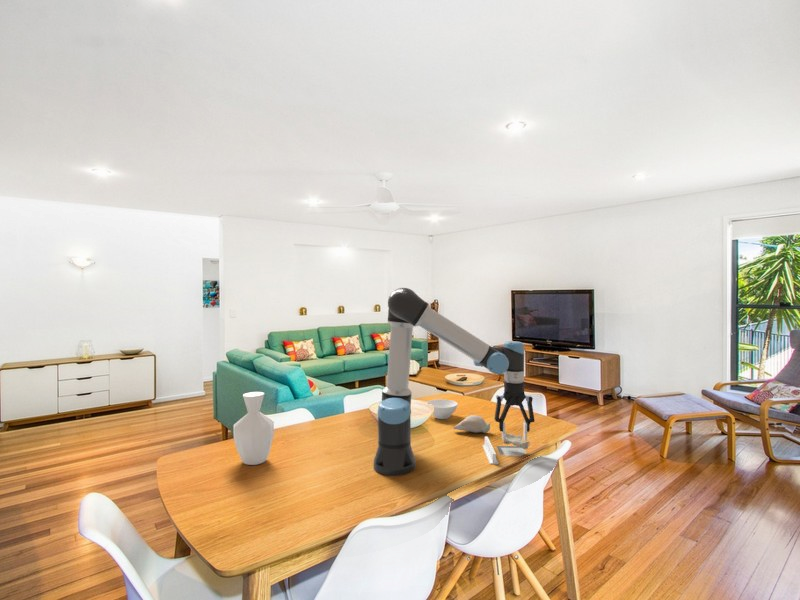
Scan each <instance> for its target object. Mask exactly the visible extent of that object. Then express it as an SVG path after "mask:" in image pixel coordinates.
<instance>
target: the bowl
mask: <svg viewBox="0 0 800 600" xmlns="http://www.w3.org/2000/svg"><path fill="white" fill-rule="evenodd" d="M425 404H427V405H428V404H432V405H433V406H434V412H433V414H432V416H433V417H434V418H436V419H438V420H447V419H450V417H451V416H452V415H453V413H455V412H456V410H457V409H458V406H459V405H458V404H459V403H458V402H456V400H455V401H454V400H450V399H444V398H443V399H441V398H440V399H438V398H437V399H431V400H428V401H426V403H425ZM427 405H426V406H427ZM428 406H429V405H428Z"/></svg>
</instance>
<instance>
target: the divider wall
mask: <svg viewBox="0 0 800 600" xmlns="http://www.w3.org/2000/svg"><path fill="white" fill-rule="evenodd" d="M482 448H483V450H484V453H485V455H486V458H487V460H488V463H489V465H499V461H498V458H497V453H496V450H495V449H494V447H493V445H492V443H491V440H490V439H489V437H488V436H484V444H482Z"/></svg>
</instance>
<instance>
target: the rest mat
mask: <svg viewBox="0 0 800 600" xmlns="http://www.w3.org/2000/svg"><path fill="white" fill-rule="evenodd" d="M496 448H497V451H498V452H499V454H500V456H503V455H504V457H521V456H523V455H525V454H527V451H526V449H523V448H520V447H518V446H516V445H515V446H514V445H496Z"/></svg>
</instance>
